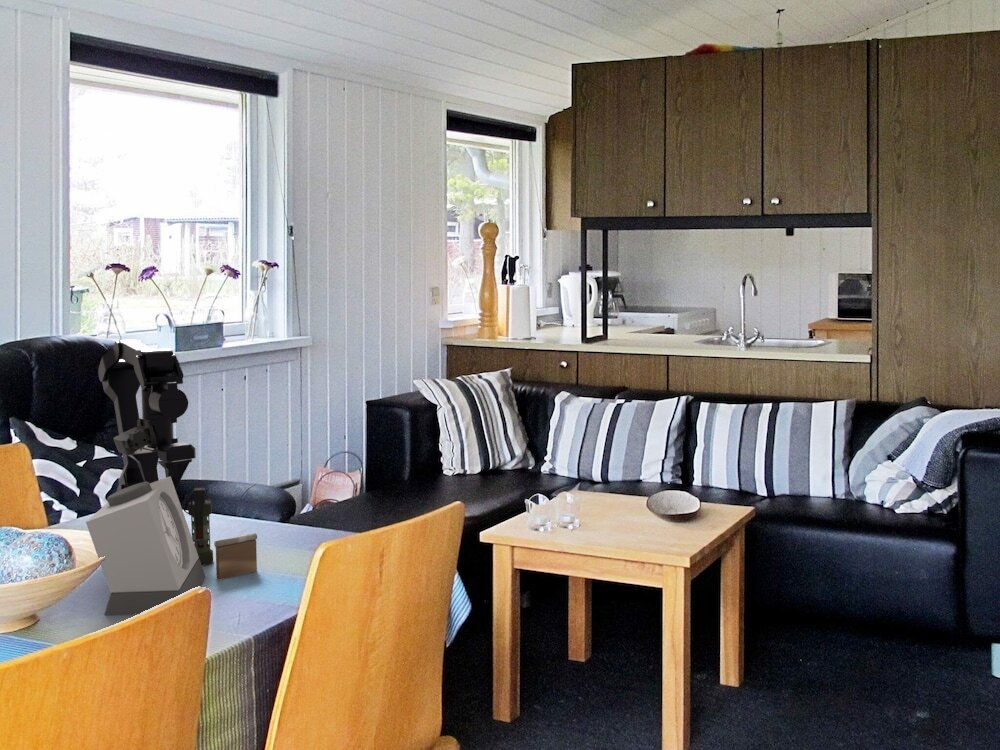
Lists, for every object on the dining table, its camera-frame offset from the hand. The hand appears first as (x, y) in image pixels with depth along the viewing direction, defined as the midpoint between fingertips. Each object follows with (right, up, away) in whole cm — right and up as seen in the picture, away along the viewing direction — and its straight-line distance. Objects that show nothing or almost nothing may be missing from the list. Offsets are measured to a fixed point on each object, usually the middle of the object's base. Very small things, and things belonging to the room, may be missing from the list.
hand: (160, 490), depth 224 cm
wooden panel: (+18, -14, -13) cm, 27 cm away
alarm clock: (+6, -16, -26) cm, 31 cm away
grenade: (+9, -14, -5) cm, 17 cm away
